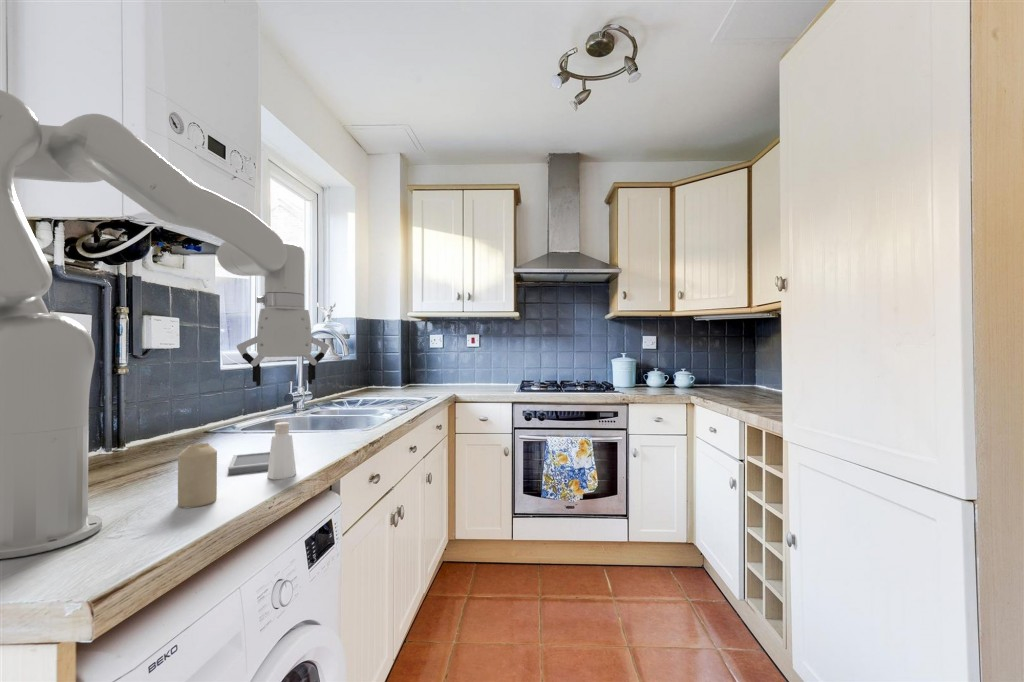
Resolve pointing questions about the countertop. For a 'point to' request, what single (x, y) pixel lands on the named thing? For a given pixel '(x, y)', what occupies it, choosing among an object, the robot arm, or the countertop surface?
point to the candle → (197, 476)
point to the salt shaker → (281, 453)
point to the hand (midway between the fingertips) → (284, 384)
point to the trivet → (249, 463)
